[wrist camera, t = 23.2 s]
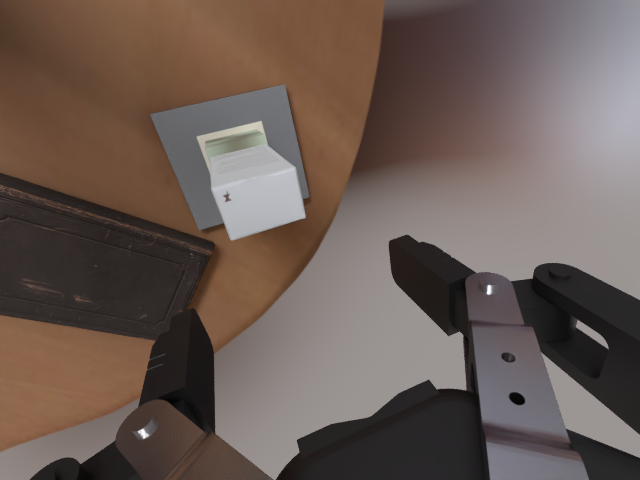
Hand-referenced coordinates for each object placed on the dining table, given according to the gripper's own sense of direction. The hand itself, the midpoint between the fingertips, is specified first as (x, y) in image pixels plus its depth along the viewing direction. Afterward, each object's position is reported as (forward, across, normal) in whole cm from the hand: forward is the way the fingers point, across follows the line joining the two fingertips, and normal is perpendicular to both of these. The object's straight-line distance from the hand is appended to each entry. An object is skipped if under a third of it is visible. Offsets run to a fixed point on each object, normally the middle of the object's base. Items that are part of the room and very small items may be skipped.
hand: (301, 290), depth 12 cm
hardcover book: (+31, +20, +8) cm, 38 cm away
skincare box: (+23, 0, 0) cm, 23 cm away
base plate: (+30, 0, 0) cm, 30 cm away
